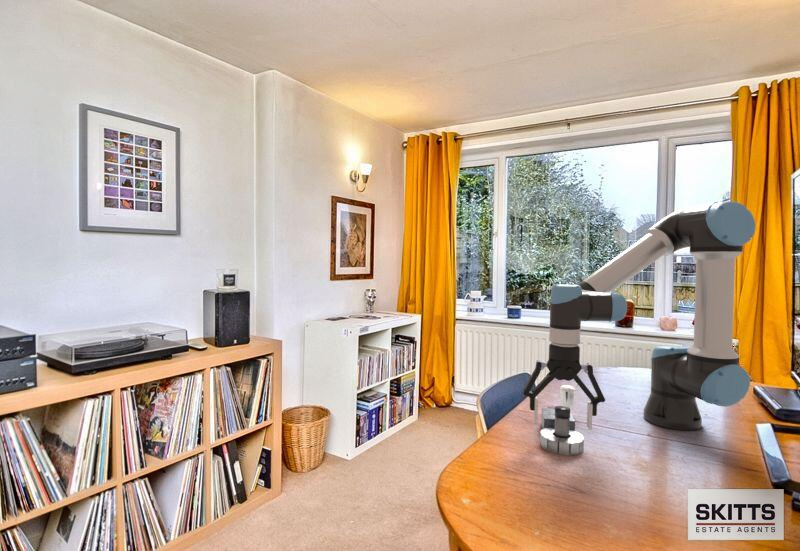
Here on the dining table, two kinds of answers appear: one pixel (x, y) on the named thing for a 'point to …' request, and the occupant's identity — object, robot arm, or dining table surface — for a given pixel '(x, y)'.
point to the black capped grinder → (562, 421)
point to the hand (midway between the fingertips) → (562, 425)
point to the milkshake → (567, 396)
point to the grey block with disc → (557, 444)
